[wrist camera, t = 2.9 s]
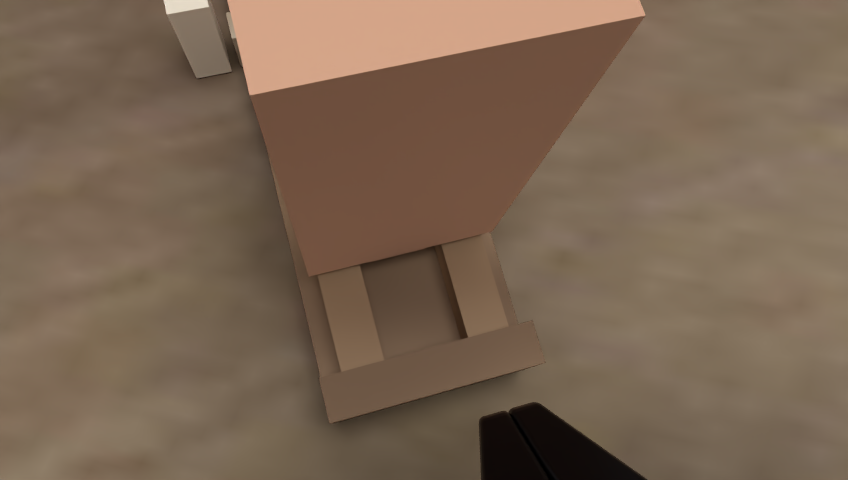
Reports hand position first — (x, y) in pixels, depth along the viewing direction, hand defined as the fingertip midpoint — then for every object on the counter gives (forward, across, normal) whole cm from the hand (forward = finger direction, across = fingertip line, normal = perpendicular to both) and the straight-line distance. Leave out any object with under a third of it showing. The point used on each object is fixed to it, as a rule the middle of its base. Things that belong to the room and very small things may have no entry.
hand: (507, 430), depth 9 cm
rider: (+9, 0, +1) cm, 9 cm away
